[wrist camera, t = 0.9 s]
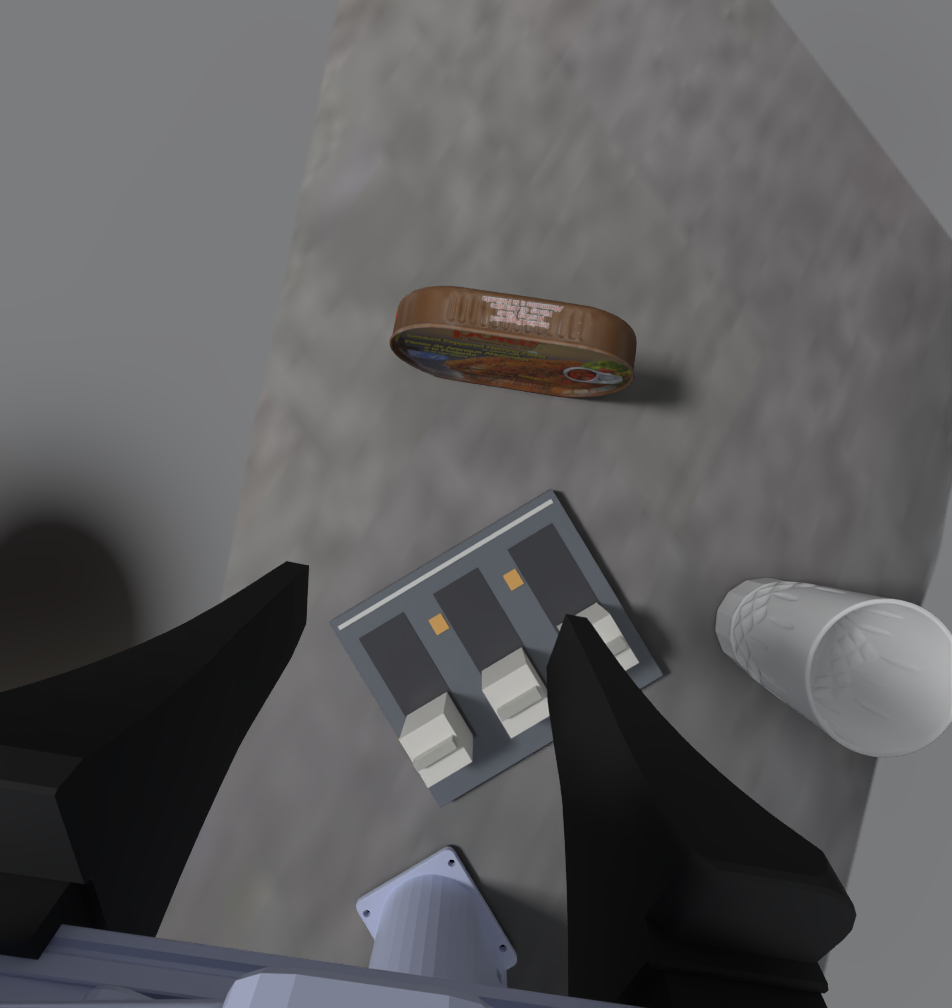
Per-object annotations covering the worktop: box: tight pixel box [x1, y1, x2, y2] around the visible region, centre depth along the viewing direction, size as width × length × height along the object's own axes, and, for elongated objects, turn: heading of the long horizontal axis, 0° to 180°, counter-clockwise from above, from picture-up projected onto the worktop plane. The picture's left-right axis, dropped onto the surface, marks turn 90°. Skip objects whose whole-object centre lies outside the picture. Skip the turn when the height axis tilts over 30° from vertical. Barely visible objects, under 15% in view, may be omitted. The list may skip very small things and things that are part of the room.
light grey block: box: [399, 692, 473, 788], centre depth 30 cm, size 4×3×4 cm
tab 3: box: [557, 603, 639, 671], centre depth 30 cm, size 4×3×4 cm
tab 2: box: [482, 647, 549, 738], centre depth 30 cm, size 4×3×4 cm
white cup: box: [715, 578, 952, 757], centre depth 28 cm, size 8×8×10 cm
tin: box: [390, 286, 637, 397], centre depth 28 cm, size 15×3×8 cm, turn 81°
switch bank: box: [329, 489, 663, 808], centre depth 32 cm, size 15×18×1 cm
